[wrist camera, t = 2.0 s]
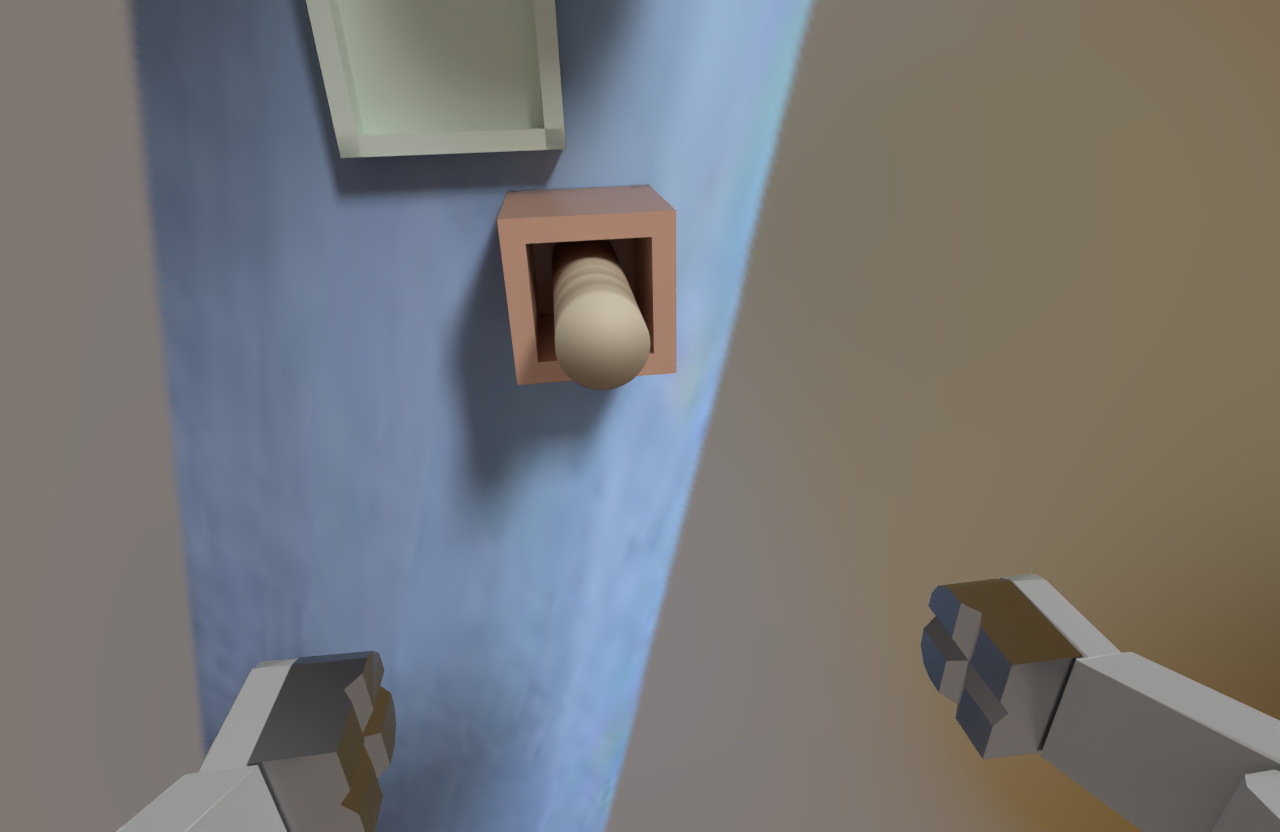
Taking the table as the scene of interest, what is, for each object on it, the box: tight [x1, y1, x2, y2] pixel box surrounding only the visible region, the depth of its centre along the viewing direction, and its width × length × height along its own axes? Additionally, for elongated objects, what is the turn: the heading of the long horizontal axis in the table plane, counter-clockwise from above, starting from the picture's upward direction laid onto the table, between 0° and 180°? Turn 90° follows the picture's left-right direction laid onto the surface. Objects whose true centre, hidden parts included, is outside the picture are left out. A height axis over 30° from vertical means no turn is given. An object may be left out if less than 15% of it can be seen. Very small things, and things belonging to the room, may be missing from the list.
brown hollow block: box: [497, 185, 676, 385], centre depth 28 cm, size 6×6×7 cm
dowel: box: [552, 239, 650, 390], centre depth 25 cm, size 3×3×11 cm
